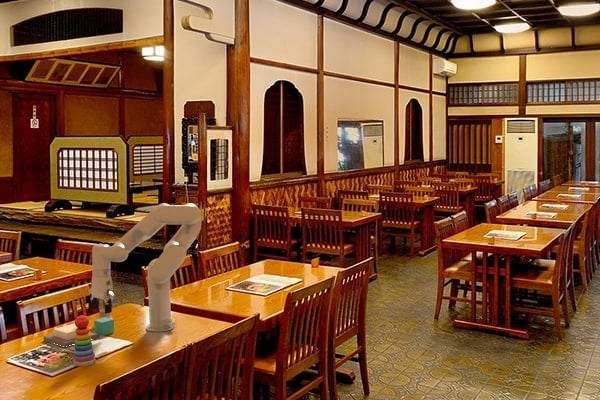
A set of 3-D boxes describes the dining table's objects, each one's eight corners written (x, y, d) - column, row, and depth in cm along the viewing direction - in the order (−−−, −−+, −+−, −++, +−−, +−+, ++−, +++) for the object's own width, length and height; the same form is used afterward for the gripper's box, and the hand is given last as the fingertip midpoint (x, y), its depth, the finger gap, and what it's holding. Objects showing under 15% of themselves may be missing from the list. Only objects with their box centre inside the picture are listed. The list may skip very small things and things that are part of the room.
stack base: (98, 338, 263) (98, 326, 263) (65, 348, 251) (64, 336, 250) (77, 331, 273) (76, 320, 273) (43, 340, 260) (43, 329, 260)
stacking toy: (76, 360, 236) (74, 312, 234) (97, 359, 237) (95, 312, 235) (70, 367, 228) (68, 318, 226) (92, 366, 229) (90, 317, 227)
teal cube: (114, 332, 271) (113, 319, 271) (102, 336, 267) (102, 322, 266) (106, 330, 275) (105, 317, 275) (94, 333, 270) (93, 320, 270)
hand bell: (117, 319, 292) (115, 286, 291) (109, 324, 284) (108, 290, 283) (100, 318, 293) (99, 286, 292) (92, 323, 285) (91, 290, 284)
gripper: (120, 274, 266) (120, 312, 268) (97, 268, 277) (97, 306, 278) (106, 276, 260) (106, 316, 262) (82, 271, 271) (82, 309, 272)
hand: (101, 310), depth 270 cm, fingers open, 9 cm apart
